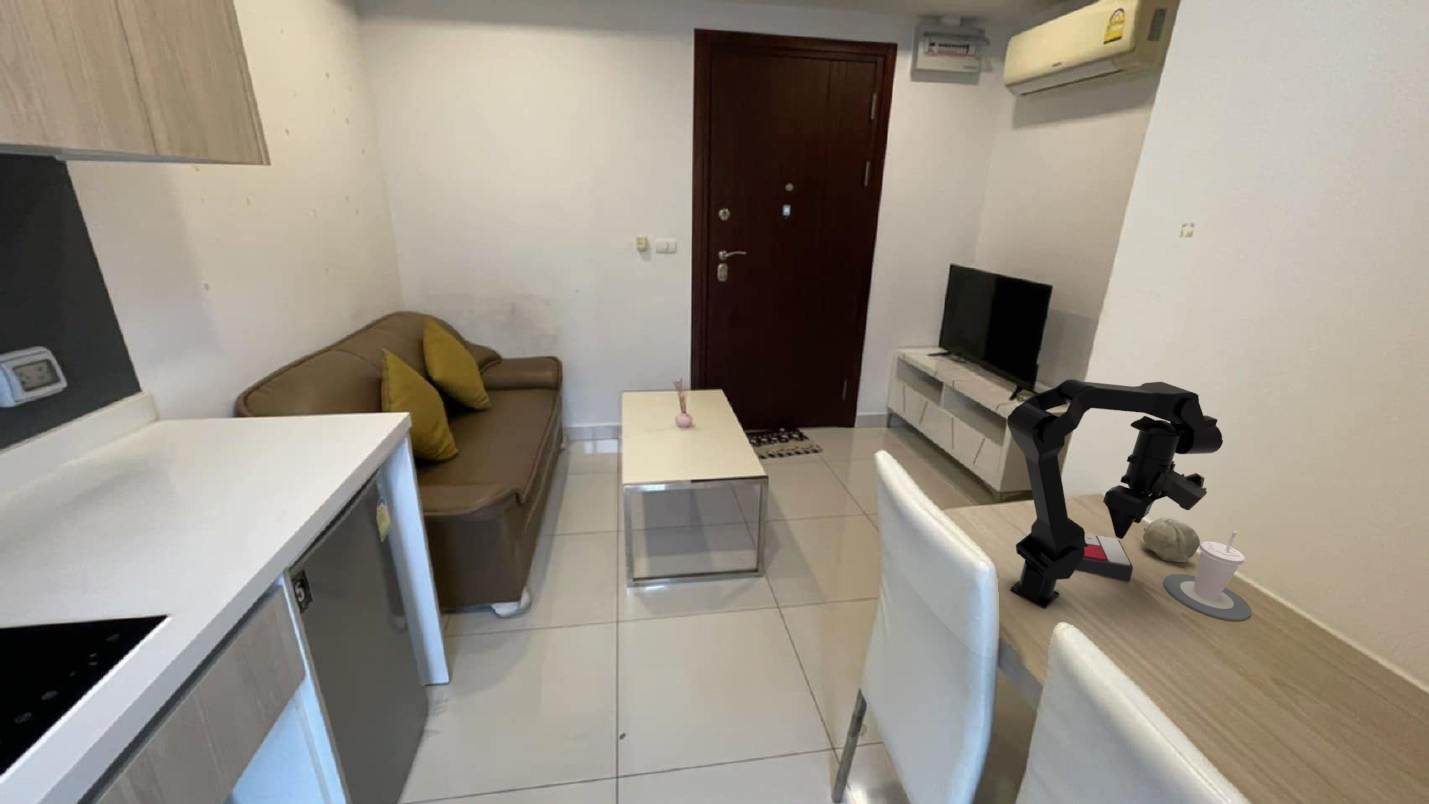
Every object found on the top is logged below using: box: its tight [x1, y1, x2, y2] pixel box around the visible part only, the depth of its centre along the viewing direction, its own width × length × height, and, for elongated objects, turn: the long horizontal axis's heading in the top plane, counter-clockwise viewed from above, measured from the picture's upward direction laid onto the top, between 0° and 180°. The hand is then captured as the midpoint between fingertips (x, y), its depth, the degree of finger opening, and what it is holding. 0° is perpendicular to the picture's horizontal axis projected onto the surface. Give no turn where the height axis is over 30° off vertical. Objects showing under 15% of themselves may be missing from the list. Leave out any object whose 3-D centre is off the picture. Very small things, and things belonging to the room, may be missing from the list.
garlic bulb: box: [1142, 517, 1201, 563], centre depth 120 cm, size 9×8×10 cm
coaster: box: [1162, 573, 1252, 622], centre depth 109 cm, size 13×13×1 cm
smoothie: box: [1193, 530, 1246, 600], centre depth 107 cm, size 6×6×14 cm
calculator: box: [1075, 532, 1134, 583], centre depth 119 cm, size 11×4×15 cm
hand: (1127, 529), depth 106 cm, fingers open, 9 cm apart
